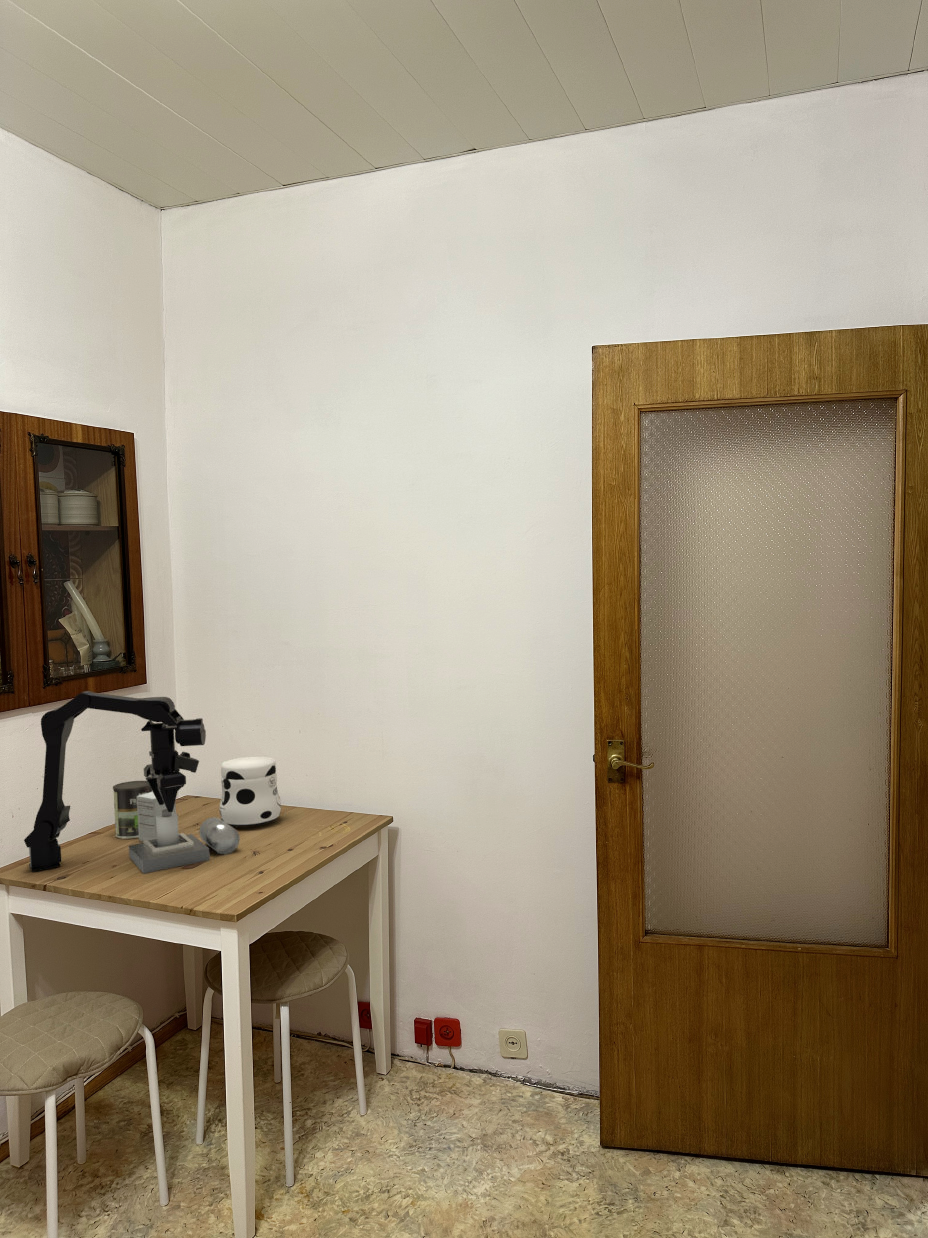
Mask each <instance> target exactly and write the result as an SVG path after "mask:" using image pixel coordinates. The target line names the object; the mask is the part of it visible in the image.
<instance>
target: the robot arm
mask: <svg viewBox="0 0 928 1238" xmlns="http://www.w3.org/2000/svg"><path fill="white" fill-rule="evenodd" d="M175 706H176V705H175V702H174V701H173V700H172V699H171V698H170V697H167V696H150V697H138V698H137V697H131V696H130V697H129V696H123V695H115V694H108V693H100V692H93V691H90V690H85V691H82V692H79V693H78V694H77V695H75V697H73V698H72V699H71V700H69V701H68V702H66V703H65V704H63V705H62V706H60V707H57V708H54V709H52V710H49V711H46V713H44V714H43V715H42V716H41V719H40V727H41V728H40V729H41V736H42V737H43V740H44V743H45V756H44V774H43V786H42V787H43V788H42V801H41V804H40V806H39V808H38V810H37V813H36V817H35V820H34V824H33V830H32V831H31V832H29V834H28V835H27V836H26V837H25V838H24V839H23V841H24V844H25V846H26V848H28V849H29V850H28V852H29V854H28V855H29V863H28V867H29V869H30V871H31V872H32V873H33V872H39V871H43V870H49V869H54V868H59V867H61V862H62V849H61V848H62V847H61V844H59V841H58V839H57V838H59V837H60V835H61V832H62V831H63V830H64V829H65V828H66V826H67V824H68V823H69V822H70V821H71V820H70V811H71V805H65V803H64V801H63V792H64V791H63V790H64V778H65V777H64V775H65V764H66V763H65V762H66V749H67V742H68V740H69V737H70V735H71V733H72V730H73V726H74V723H75V719H76V718H77V717H79V716H80V715H81V714H83V712H85V711H86V710H87V709H90V710H91V709H92V710H101V711H106V712H107V711H108V712H115V713H124V714H129V715H130V714H131V715H134V716H137V717H139V718H142V719H143V720H148V721H147V722H146V723H145V725H144V726H143V727H142V728H141V729H140V730H141V732H149V734H150V751H149V753H148V755H149V757H151V758H150V759H151V763H150V764H145V765H146V766H144V767H143V776H144V777H145V781H147V782H148V784H149V786H150V788H151V790H152V792H153V793H154V795H155V797H156V799H157V801H158V803H159V805H163V804H165V806H166V808H167V810H168V812H173V809H174V804H175V805H176V799H177V797H178V796H177V795H178V793H179V790H181V789H182V788H184V787H185V785H187V777H186V775H185V774H184V773H183V772H181V770H184V771H189V772H190V773H194V774H195V773H197V771H198V770H197V769H198V767H199V764H200V763H199V762H200V760H199V759H197V758H194V757H191V753H189V752H188V751H187V752H186V751H181V753H180V754H179V752H178V751H177V750H176V746H175V745H176V743H177V745H179V746H180V747H192V746H193V747H194V746H197V747H198V746H205V743H206V737H207V734H206V733H207V732H206V729H205V724H204V721H203V718H202V717H201V718H200V717H199V718H195V719H185V718H184V717H183V716H182V715H181V714H180V713H179V711H178V710H177V709H176V707H175Z"/></svg>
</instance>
